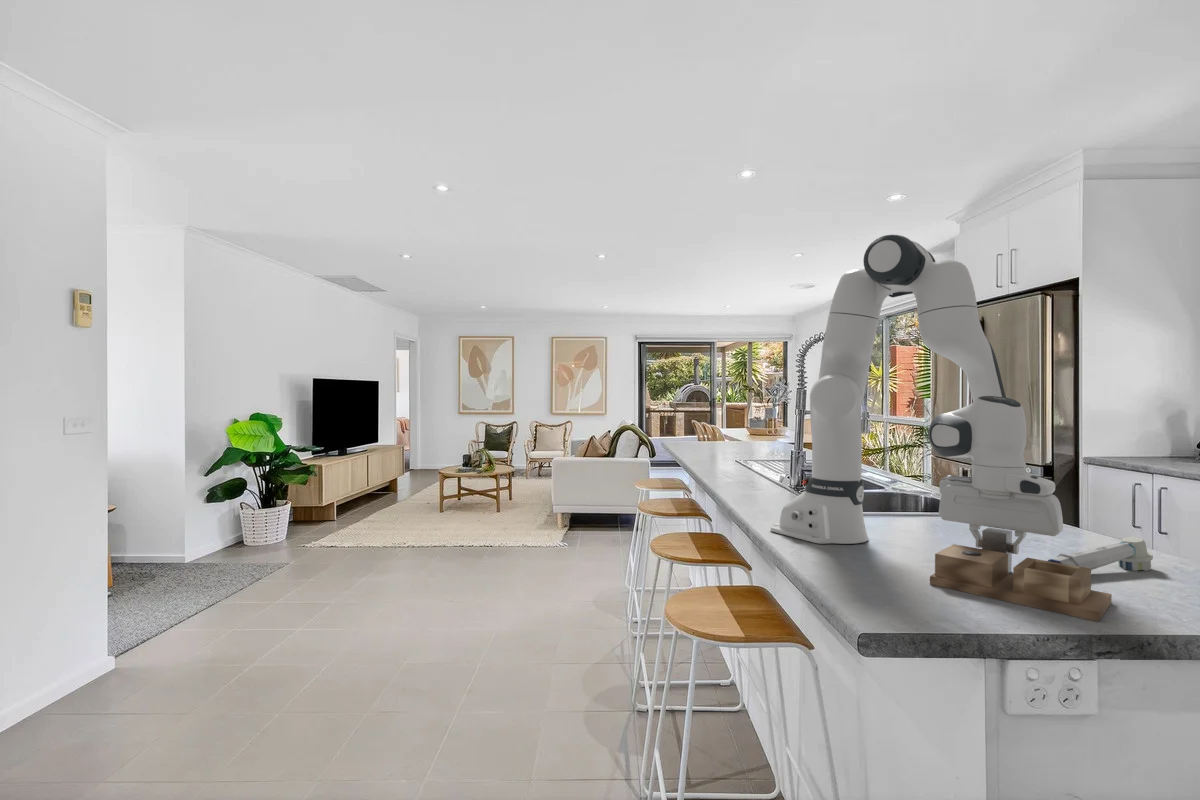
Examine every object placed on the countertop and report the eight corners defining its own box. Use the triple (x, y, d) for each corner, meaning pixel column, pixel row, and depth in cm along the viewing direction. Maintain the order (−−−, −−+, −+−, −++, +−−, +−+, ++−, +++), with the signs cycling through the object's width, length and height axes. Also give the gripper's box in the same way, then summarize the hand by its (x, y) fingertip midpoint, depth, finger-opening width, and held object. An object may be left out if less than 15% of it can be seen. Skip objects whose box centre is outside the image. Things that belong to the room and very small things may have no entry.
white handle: (1039, 555, 116) (1127, 528, 124) (1042, 588, 117) (1130, 560, 124) (1067, 562, 111) (1158, 534, 119) (1070, 597, 112) (1160, 567, 119)
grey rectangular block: (981, 571, 118) (982, 530, 118) (987, 567, 121) (988, 527, 121) (1005, 576, 115) (1006, 534, 115) (1011, 571, 118) (1012, 530, 118)
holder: (929, 584, 110) (930, 553, 110) (952, 570, 118) (952, 542, 118) (1098, 621, 93) (1099, 585, 93) (1111, 602, 101) (1112, 569, 101)
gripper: (934, 475, 123) (933, 543, 124) (1058, 487, 108) (1057, 564, 108) (945, 472, 128) (944, 537, 128) (1065, 484, 112) (1064, 558, 113)
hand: (996, 550), depth 118 cm, fingers closed on grey rectangular block, 4 cm apart
